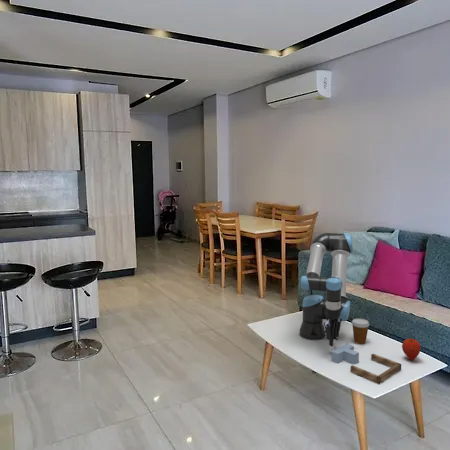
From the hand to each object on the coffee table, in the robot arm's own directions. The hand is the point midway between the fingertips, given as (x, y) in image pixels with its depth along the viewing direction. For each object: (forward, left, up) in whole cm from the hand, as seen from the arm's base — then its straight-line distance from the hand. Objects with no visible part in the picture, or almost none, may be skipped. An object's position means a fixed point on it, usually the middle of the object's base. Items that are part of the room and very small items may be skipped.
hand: (332, 351), depth 212 cm
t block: (+9, 0, -2) cm, 9 cm away
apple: (+30, +24, -2) cm, 39 cm away
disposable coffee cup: (+1, +24, -2) cm, 24 cm away
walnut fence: (+24, 0, -2) cm, 24 cm away
